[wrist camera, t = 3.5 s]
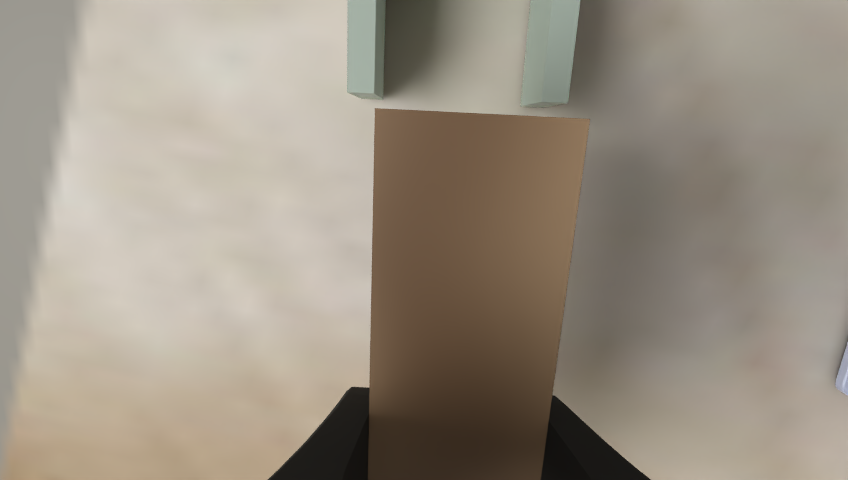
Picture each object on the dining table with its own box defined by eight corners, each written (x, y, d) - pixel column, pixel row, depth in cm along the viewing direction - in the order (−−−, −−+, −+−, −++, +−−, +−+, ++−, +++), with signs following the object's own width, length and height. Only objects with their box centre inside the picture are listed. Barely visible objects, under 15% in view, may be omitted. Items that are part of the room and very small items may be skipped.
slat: (532, 121, 11) (589, 119, 7) (485, 560, 15) (508, 717, 11) (392, 113, 11) (375, 108, 7) (379, 556, 15) (363, 713, 11)
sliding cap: (560, -61, 15) (593, -106, 12) (542, 107, 16) (567, 103, 13) (363, -71, 15) (348, -120, 12) (361, 98, 16) (347, 92, 13)
